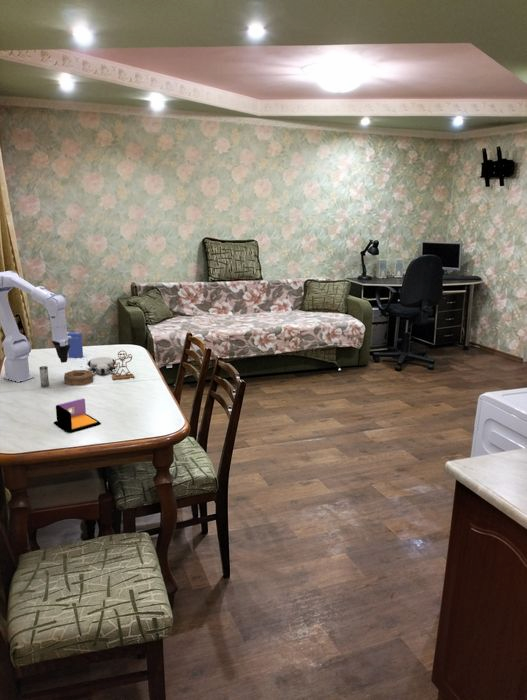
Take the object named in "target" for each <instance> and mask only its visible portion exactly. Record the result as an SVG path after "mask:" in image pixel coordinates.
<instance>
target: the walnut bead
mask: <svg viewBox="0 0 527 700" xmlns="http://www.w3.org/2000/svg"><path fill="white" fill-rule="evenodd" d="M63 380H64V381H63V382H64V384H65V385H68V386H74V385H77V386H86V385H89V384H91V383H94V373H93V372H92V371H90V370H88V369H78V370H77V369H76V370H75V369H74V370H70V371H67V372H65V373H64V375H63ZM85 384H86V385H85ZM74 387H75V386H74Z"/></svg>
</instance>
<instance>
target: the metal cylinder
mask: <svg viewBox="0 0 527 700" xmlns="http://www.w3.org/2000/svg"><path fill="white" fill-rule="evenodd" d="M38 368H39V377H40V379H39V380H40V388H42V389H43V388H44V389H46V387H47V388H49V387H50V381H49V369H48V368H49V367H48V366H46V365H45V366H39V367H38Z"/></svg>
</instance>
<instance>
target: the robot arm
mask: <svg viewBox="0 0 527 700" xmlns="http://www.w3.org/2000/svg"><path fill="white" fill-rule="evenodd" d="M13 288H16V289H18V290H21V291H22V292H25V293H26V294H28V295H30V296H31V299H32V300H34V301H36V302H37V303H39V304H40V305H42V306H44V307H45V309H46V310H47V313H48V315H49V321H50V329H51V330H50V331H51V342H52V345H54V348H55V350H56V354H57V357H58V359H59V360H60V362H61V364H62V363H64V364H65V363H67V362H68V359H69V358H68V351H69V348H70V344H69V345H66V342H67V340H68V339H70V338H71V336H68V334H67V332H68V328H67V319H66V318H67V317H66V311H65V309H66V308H67V307H68V306H67V305H68V300H67V299H66V297H65V296H63V294H55V292H51V291H49V290H48V289H46V287H45V286H40V285H38V286H34V285H33V284H32V283H30V282H28V281H27V280H25V279H23V278H22V277H20V276H19V274H18V273H17V272H14V271H13V270H7V271H0V325H1V329H2V330H3V333H4V334H3V335H4V336H5V338H4V340H2V344H1V345H2V347H3V354H4V356H5V357H6V358H5V360H4V362H3V366H4V377H3V379H4V378H5V380H8V379H9V381H11V380H12V382H15V381H16V383H20V381H22V382H25V381H27V380H31V379H34V378H35V375H31V374H30V366H29V357H30V353H31V352H32V345H31V343H30V341H28V339H27V336H26V335H24V334H22V333H20V331H19V327H18V324H17V322H16V319H15V316H14V314H13V311H12V309H11V306H10V302H9V300H8V298H7V296H8V294H9V292H10V291H11V290H12V289H13Z"/></svg>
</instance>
